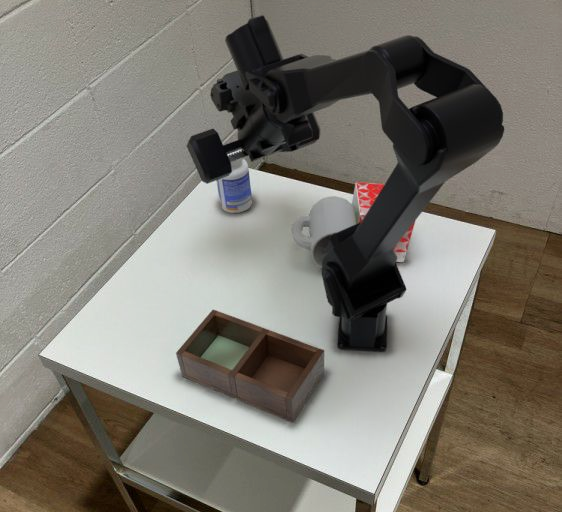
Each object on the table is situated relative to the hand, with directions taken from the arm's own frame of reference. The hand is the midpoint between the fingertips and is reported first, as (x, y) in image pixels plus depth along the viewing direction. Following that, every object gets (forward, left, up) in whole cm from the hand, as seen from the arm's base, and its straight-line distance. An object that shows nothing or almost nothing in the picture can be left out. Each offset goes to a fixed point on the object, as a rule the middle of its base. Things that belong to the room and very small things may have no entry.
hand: (239, 158), depth 96 cm
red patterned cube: (-3, -21, -6) cm, 22 cm away
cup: (-4, -13, -6) cm, 15 cm away
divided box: (-34, -6, -10) cm, 36 cm away
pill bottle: (+2, +2, -10) cm, 11 cm away
